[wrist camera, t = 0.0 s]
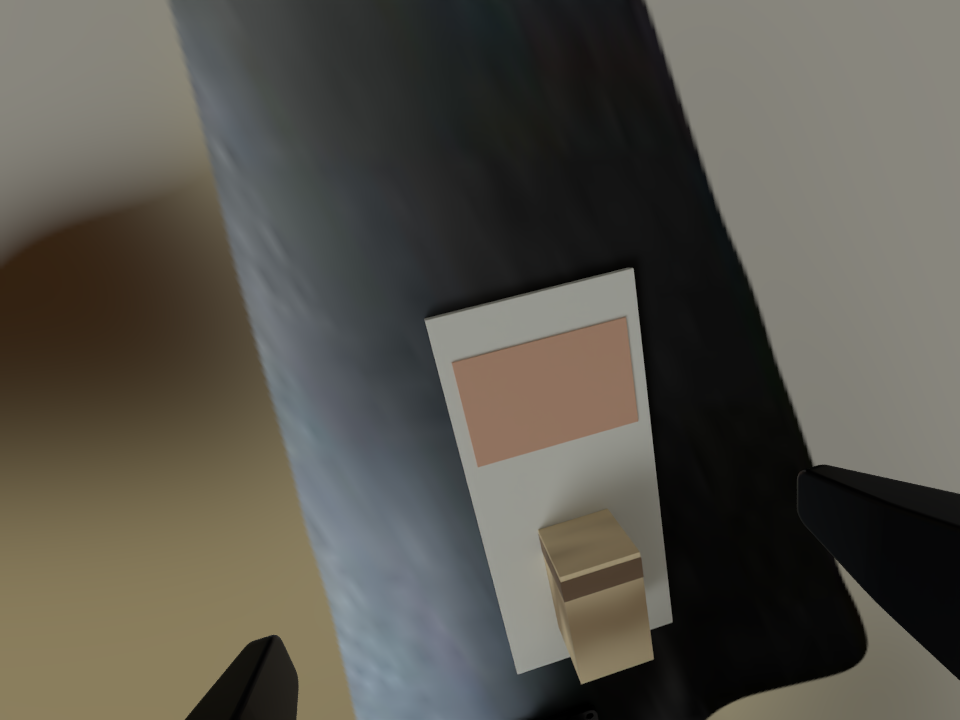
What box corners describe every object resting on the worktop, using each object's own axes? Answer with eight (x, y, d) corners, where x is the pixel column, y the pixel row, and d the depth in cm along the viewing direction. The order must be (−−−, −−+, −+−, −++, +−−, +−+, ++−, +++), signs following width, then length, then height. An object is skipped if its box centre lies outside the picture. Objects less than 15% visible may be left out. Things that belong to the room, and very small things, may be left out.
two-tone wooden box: (622, 605, 27) (654, 659, 24) (558, 627, 27) (581, 684, 23) (607, 508, 25) (640, 552, 22) (537, 529, 24) (559, 578, 21)
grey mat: (668, 615, 29) (673, 623, 28) (515, 667, 28) (517, 676, 27) (628, 267, 22) (634, 268, 21) (424, 318, 21) (424, 321, 20)
